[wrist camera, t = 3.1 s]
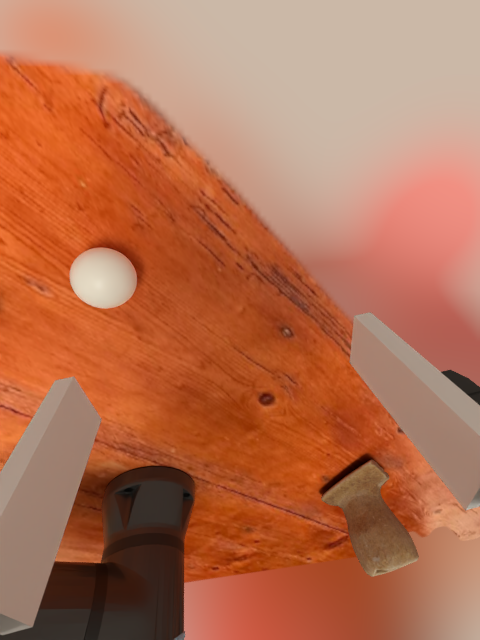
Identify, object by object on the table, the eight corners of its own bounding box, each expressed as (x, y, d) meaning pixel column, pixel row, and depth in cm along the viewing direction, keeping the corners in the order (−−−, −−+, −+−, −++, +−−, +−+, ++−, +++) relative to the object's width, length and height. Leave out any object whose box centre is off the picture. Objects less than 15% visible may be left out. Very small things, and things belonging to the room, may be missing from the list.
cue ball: (148, 254, 27) (139, 274, 22) (132, 300, 29) (121, 327, 25) (88, 230, 25) (66, 247, 20) (76, 281, 27) (53, 307, 23)
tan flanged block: (345, 501, 63) (385, 589, 50) (311, 492, 58) (345, 586, 45) (397, 465, 58) (455, 552, 45) (364, 451, 53) (420, 544, 40)
